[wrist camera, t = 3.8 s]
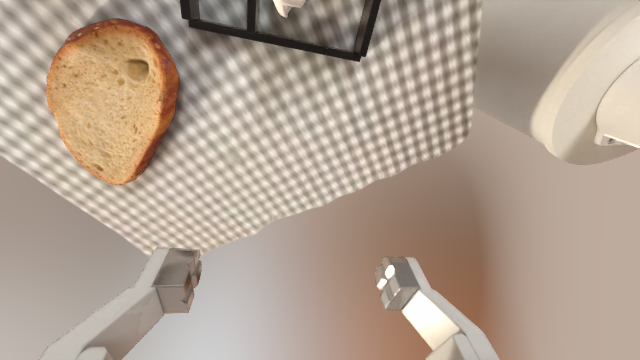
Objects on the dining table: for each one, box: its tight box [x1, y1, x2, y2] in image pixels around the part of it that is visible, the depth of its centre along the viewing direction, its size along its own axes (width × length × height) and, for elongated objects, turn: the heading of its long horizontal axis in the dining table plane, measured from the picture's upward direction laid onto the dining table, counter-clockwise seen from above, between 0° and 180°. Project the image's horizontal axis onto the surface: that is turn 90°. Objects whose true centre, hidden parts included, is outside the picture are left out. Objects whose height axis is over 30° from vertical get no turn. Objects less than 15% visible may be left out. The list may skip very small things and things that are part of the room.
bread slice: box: [46, 19, 179, 185], centre depth 28 cm, size 18×18×4 cm
